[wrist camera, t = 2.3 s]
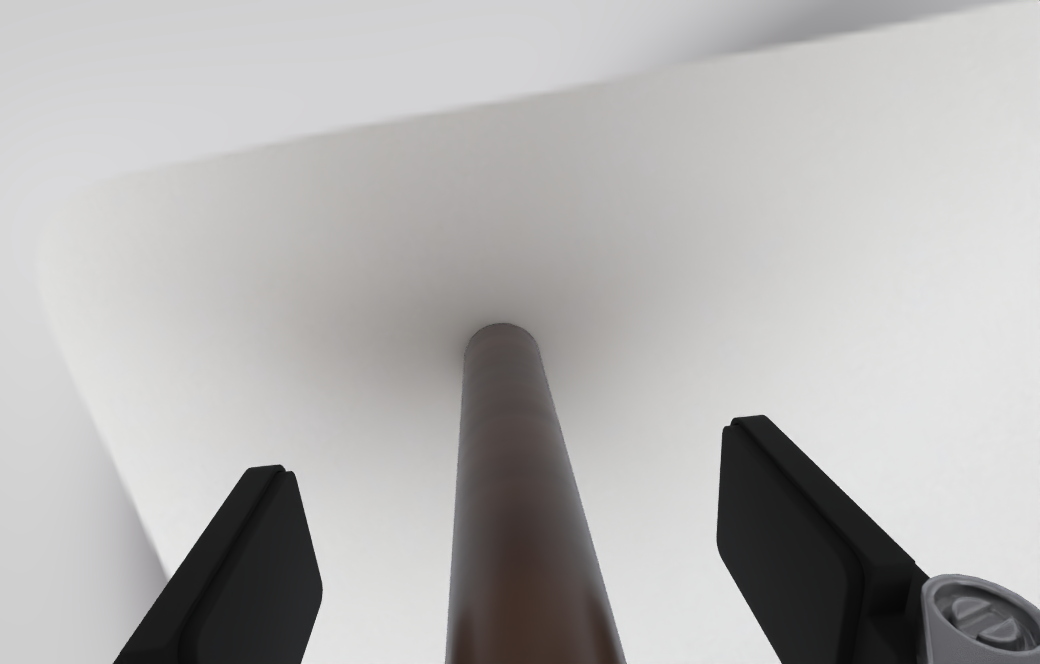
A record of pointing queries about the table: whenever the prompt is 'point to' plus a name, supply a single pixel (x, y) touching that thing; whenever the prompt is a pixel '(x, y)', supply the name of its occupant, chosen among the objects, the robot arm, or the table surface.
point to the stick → (520, 522)
